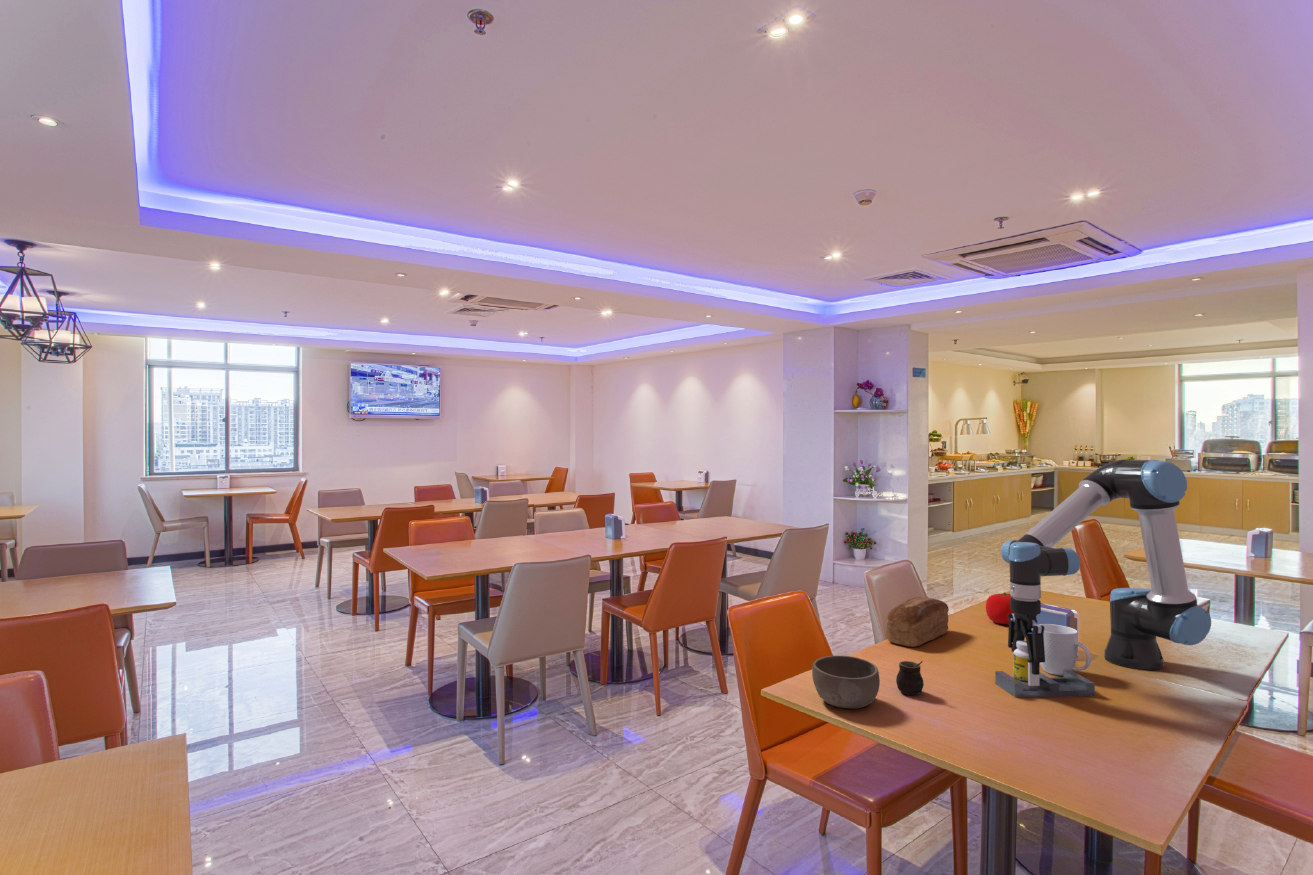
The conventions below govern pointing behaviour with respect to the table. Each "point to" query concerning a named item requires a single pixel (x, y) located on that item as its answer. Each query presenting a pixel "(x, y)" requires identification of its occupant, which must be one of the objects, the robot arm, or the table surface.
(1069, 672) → the gray divided tray
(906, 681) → the mate gourd
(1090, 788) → the table surface
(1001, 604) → the tomato
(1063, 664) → the mug
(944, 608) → the bread
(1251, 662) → the table surface
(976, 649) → the table surface
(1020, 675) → the pill bottle
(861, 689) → the bowl
